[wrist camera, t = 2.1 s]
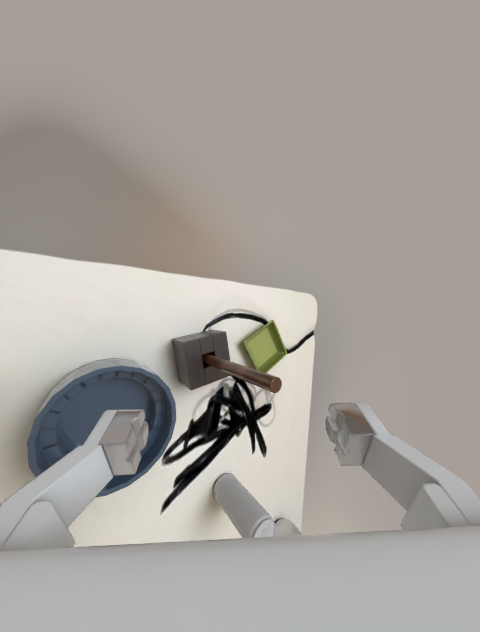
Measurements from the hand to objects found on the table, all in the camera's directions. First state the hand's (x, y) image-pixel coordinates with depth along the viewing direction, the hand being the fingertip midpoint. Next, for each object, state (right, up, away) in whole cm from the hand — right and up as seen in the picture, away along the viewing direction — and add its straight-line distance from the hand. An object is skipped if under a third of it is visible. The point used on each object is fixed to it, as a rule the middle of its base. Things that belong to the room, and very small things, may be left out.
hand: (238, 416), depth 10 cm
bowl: (-18, -9, +22) cm, 30 cm away
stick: (-8, -2, +29) cm, 30 cm away
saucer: (+4, -2, +38) cm, 38 cm away
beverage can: (-3, -28, +33) cm, 43 cm away
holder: (-8, -2, +29) cm, 30 cm away
